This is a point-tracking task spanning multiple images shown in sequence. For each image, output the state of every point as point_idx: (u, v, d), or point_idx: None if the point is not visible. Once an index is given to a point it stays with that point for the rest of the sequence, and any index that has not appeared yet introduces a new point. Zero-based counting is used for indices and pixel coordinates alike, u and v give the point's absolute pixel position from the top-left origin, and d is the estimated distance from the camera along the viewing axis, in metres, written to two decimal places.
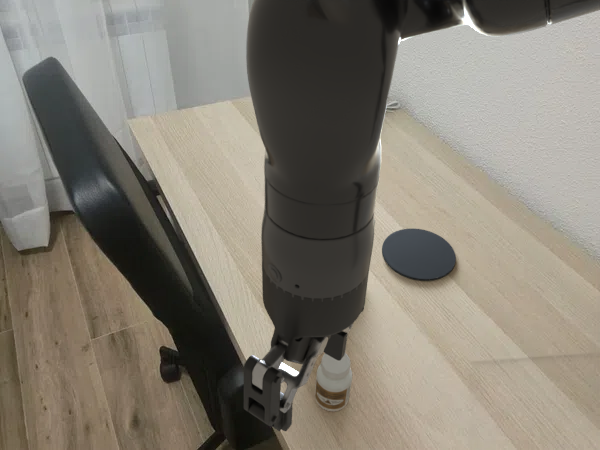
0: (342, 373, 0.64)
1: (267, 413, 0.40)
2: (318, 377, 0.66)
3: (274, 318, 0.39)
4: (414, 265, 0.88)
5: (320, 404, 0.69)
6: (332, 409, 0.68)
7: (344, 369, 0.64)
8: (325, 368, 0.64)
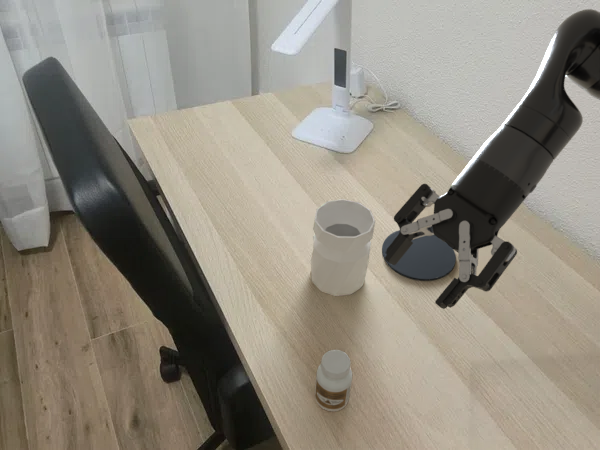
0: (342, 373, 0.64)
1: (402, 207, 0.68)
2: (318, 377, 0.66)
3: None
4: (414, 265, 0.88)
5: (320, 404, 0.69)
6: (332, 409, 0.68)
7: (344, 369, 0.64)
8: (325, 368, 0.64)
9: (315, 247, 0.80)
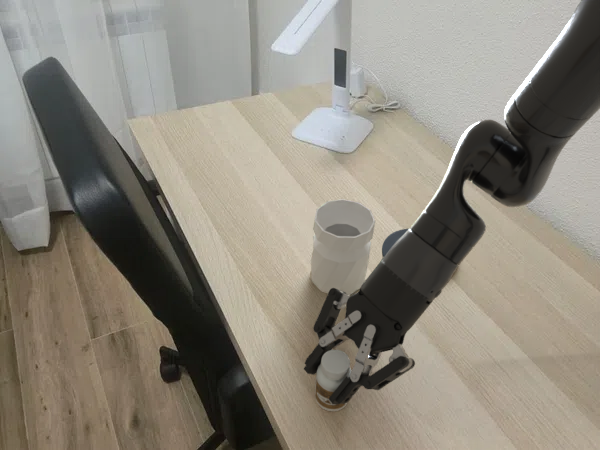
0: (342, 373, 0.64)
1: None
2: (317, 377, 0.66)
3: None
4: None
5: (320, 404, 0.69)
6: (332, 409, 0.68)
7: (344, 368, 0.64)
8: (325, 368, 0.64)
9: (315, 247, 0.80)
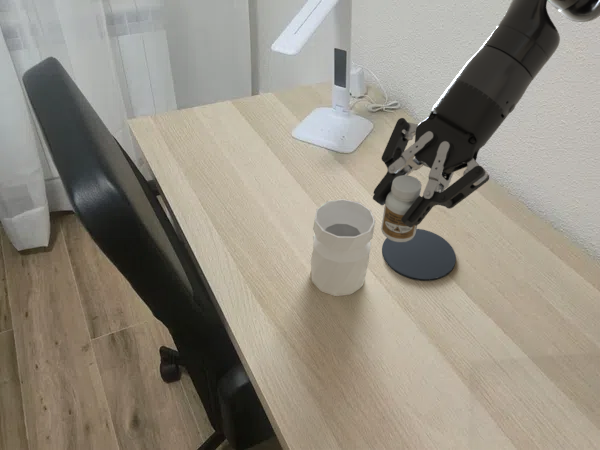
0: (414, 192, 0.64)
1: None
2: (388, 202, 0.67)
3: None
4: (414, 265, 0.88)
5: (388, 235, 0.69)
6: (400, 239, 0.68)
7: (416, 189, 0.65)
8: (397, 188, 0.65)
9: (315, 247, 0.80)
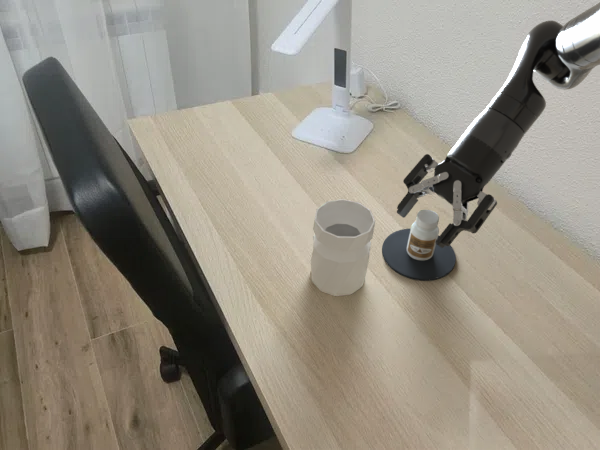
0: (434, 223, 0.84)
1: (410, 173, 0.89)
2: (413, 230, 0.87)
3: None
4: (414, 265, 0.88)
5: (412, 255, 0.89)
6: (422, 258, 0.88)
7: (435, 220, 0.85)
8: (420, 220, 0.85)
9: (315, 247, 0.80)
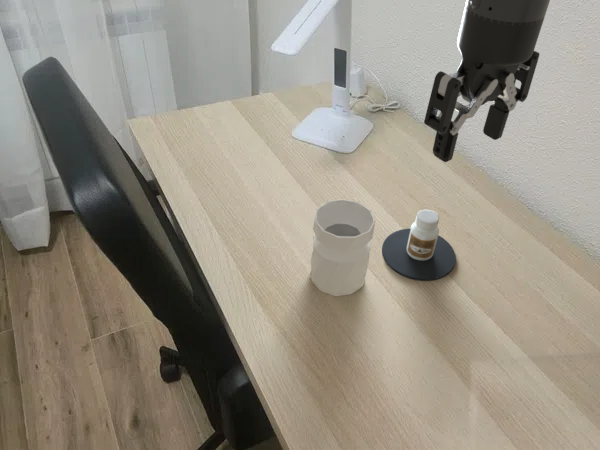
0: (434, 223, 0.84)
1: (442, 118, 0.56)
2: (413, 230, 0.87)
3: (464, 48, 0.55)
4: (414, 265, 0.88)
5: (412, 255, 0.89)
6: (422, 258, 0.88)
7: (435, 220, 0.85)
8: (420, 220, 0.85)
9: (315, 247, 0.80)
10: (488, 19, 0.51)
